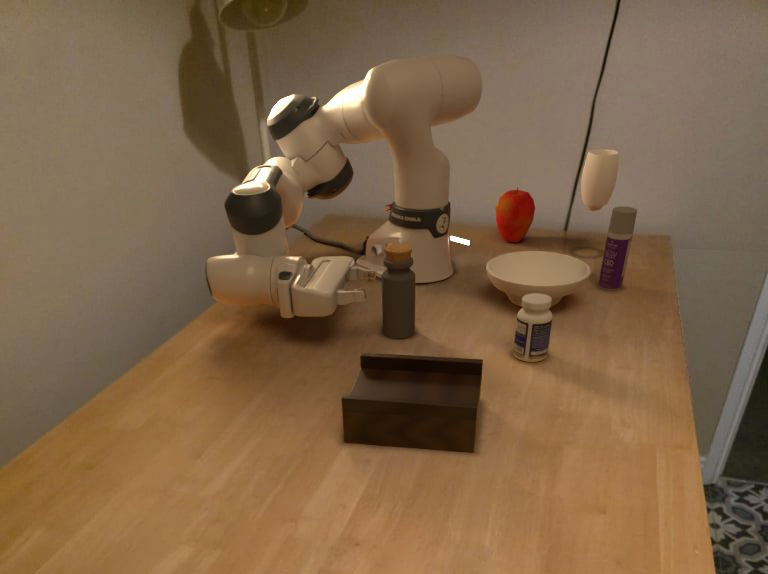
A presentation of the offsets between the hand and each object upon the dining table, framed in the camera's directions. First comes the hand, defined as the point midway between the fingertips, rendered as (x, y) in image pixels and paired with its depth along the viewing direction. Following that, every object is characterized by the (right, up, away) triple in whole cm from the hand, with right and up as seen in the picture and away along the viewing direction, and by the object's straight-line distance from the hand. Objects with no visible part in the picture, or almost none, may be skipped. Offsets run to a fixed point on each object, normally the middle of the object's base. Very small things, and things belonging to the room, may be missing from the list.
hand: (370, 285), depth 117 cm
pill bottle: (+27, -13, -4) cm, 30 cm away
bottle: (+5, -7, +5) cm, 10 cm away
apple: (+33, +26, +45) cm, 62 cm away
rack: (+7, -26, -20) cm, 34 cm away
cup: (+49, +20, +37) cm, 65 cm away
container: (+49, +6, +20) cm, 53 cm away
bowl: (+32, +1, +15) cm, 35 cm away
